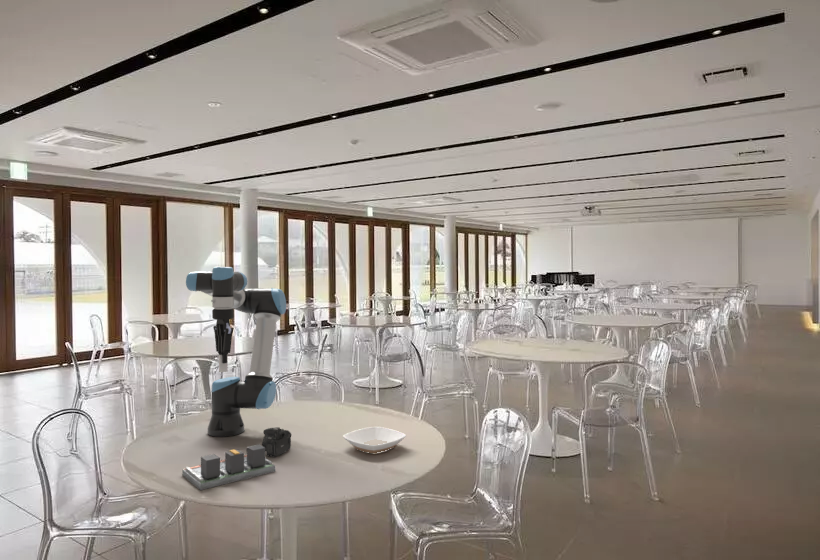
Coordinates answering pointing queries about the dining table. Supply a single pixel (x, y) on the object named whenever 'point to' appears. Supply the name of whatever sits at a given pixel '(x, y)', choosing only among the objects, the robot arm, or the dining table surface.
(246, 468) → the panel
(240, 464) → the block
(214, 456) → the block
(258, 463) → the breaker
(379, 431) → the bowl
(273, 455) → the camera
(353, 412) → the dining table surface
